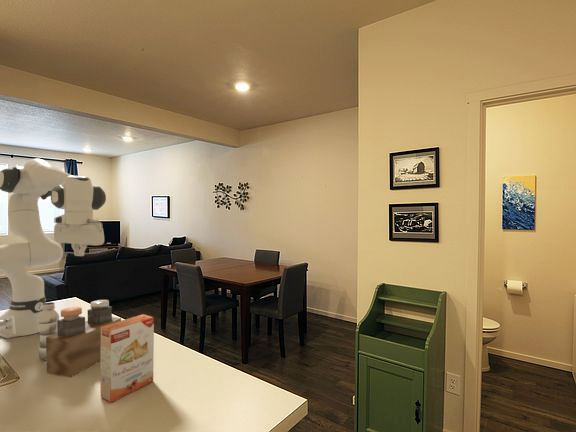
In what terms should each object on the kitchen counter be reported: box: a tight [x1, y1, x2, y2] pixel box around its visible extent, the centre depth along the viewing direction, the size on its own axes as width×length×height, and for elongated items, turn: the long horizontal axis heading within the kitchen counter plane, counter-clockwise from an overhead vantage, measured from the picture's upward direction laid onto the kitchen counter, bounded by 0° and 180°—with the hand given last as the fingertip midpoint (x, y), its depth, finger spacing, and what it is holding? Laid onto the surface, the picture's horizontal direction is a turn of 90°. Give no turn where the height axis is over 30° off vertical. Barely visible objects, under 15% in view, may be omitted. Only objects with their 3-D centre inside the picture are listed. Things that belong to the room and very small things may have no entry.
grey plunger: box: [89, 299, 110, 310], centre depth 124 cm, size 6×6×6 cm
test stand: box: [46, 305, 122, 378], centre depth 118 cm, size 10×22×17 cm, turn 165°
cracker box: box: [100, 313, 155, 403], centre depth 100 cm, size 14×6×21 cm, turn 148°
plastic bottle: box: [37, 301, 60, 361], centre depth 120 cm, size 6×7×20 cm
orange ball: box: [60, 306, 83, 321], centre depth 112 cm, size 6×6×6 cm
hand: (79, 255), depth 124 cm, fingers closed
